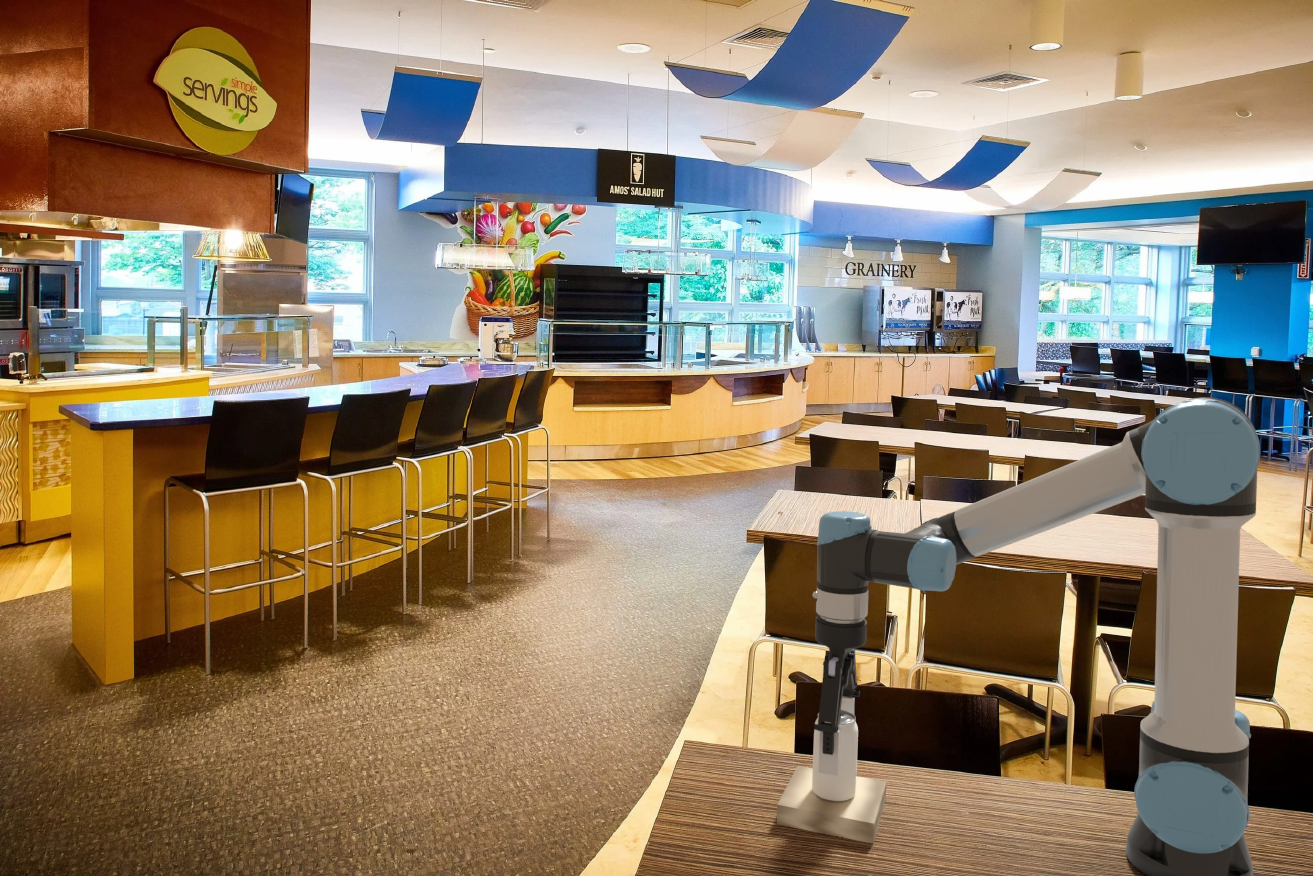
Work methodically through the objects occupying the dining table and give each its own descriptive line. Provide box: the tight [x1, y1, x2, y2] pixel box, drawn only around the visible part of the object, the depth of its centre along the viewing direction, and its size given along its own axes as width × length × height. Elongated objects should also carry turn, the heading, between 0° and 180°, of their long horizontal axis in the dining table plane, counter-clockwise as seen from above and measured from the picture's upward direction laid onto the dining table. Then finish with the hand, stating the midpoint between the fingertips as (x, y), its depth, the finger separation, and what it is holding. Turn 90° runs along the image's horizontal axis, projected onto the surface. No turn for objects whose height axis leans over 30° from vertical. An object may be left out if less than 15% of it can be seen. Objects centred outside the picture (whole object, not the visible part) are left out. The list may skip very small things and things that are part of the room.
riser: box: [776, 765, 887, 844], centre depth 142 cm, size 14×14×3 cm
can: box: [812, 710, 859, 802], centre depth 141 cm, size 6×6×12 cm
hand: (836, 754), depth 141 cm, fingers open, 13 cm apart
